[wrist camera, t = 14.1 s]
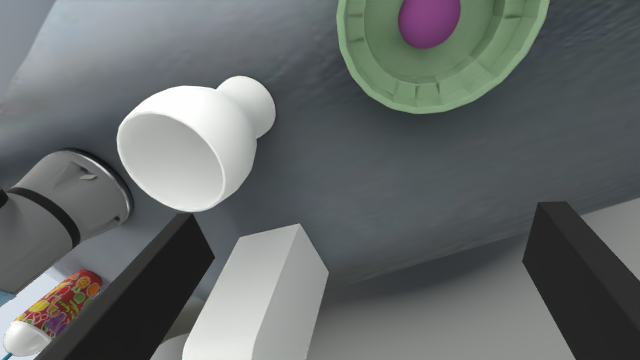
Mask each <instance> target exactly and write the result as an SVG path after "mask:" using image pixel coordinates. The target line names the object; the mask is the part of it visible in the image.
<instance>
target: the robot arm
mask: <svg viewBox="0 0 640 360" xmlns="http://www.w3.org/2000/svg"><path fill="white" fill-rule="evenodd" d="M133 208H134V204H133V199H132V196H131V193H130V191H129V189H128V187H127V186H126V184H125V183H124V181H123V180H122V179H121V178H120V177H119V175H118V174H117V173H116V172H115V171H114V170H113V169H111V168H110V167H109V166H108V165H107V164H105V163H104V162H102V161H101V160H99V159H98V158H96V157H94V156H92V155H90V154H88V153H86V152H83V151H80V150H76V149H69V148H65V149H60V150H57V151H55V152H53V153H51V154H49V155H47V156H46V157H44V158H43V159H41V160H40V161H39V162H38V163H37V164H36V165H35V166H34V167H33V168H32V169H31V170H30V171H29V172H28V173H27V174H26V175H25V176H24V177H23V178H22V179H21V180H20V181H19V182H18V183H17V184H16V185H15V186H13V187H11V188H10V189H7V190H6V191H3V190H2V188H1V187H0V307H1V306H2V305H4V304H5V303H7V302H8V301H9V300H12V299H13V298H15V297H16V295H17V294H18V293H19V292H20V291H22V290H23V289H24V288H25V287H26V286H28V285H29V284H30V283H32V282H33V281H34V280H35V279H36V278H38V277H39V276H40V275H41V274H43V273H44V272H45V271H46V270H48V269H49V268H50V267H51V266H52V265H54V264H55V263H56V262H57V261H59V260H60V259H61V258H62V257H64V256H65V255H66V254H67V253H68V252H70V251H71V250H72V249H73V248H75V247H76V246H77V245H78V244H80V243H81V242H83V241H85V240H87V239H89V238H92V237H94V236H96V235H99V234H101V233H103V232H106V231H108V230H110V229H113V228H115V227H117V226H119V225H120V224H122V223H123V222H124V221H126V220H127V219H128V218H129V217H130V216H131V215H132V213H133ZM214 259H215V256H214V254H213V252H212V250H211V248H210V247H209V245H208V243H207V241H206V239H205V237H204V235H203V233H202V231H201V229H200V227H199V225H198V223H197V221H196V219H195V217H194V215H193V213H180V214H177V215H176V216H175V217H174V218H173V219H172V220H171V221H170V222H169V223H168V224H167V225H166V226H165V227H164V228H163V230H162V231H161V232H160V233H159V234H158V235H157V236H156V237H155V238H154V239H153V240H152V241H151V242H150V243H149V244H148V245H147V246H146V248H145V249H144V250H143V251H142V252H141V253H140V254H139V255H138V256H137V257H136V258H135V259H134V260H133V261H132V262H131V263H130V264H129V265H128V267H127V268H126V269H125V270H124V271H123V272H122V273H121V274H120V275H119V276H118V277H117V278H116V279H115V280H114V281H113V282H112V283H111V284H110V286H109V287H108V288H107V289H105V290H104V291H103V292H101V293H100V294H99V295H97V296H96V297H95V298H93V299H92V300H91V301H90V302H89V303H88V304H87V305H86V306H85V307H84V308H83V309H82V310H81V311H80V312H79V313H78V314H77V317H76V318H73V319H72V320H71V321H70V322H69V323H68V324H67V325H66V326H65V329H64V330H62V331H61V332H60V333H59V334H58V335H57V336H56V337H55V338H54V339H53V340H52V341H51V342H50V343H49V344H48V345H47V346H46V347H45V348H44V349H43V350H42V352H41V353H40V354H39V355H38V356H37V357H36V358H35V359H34V360H150V359H151V357H152V355H153V354H154V352H155V351H156V349H157V348H158V346H159V345H160V343H161V341H162V340H163V338H164V337H165V335H166V334H167V332H168V330H169V329H170V327H171V326H172V324H173V323H174V321H175V320H176V318H177V316H178V315H179V313H180V312H181V310H182V309H183V307H184V305H185V304H186V302H187V301H188V299H189V298H190V296H191V294H192V293H193V291H194V290H195V288H196V287H197V285H198V284H199V282H200V280H201V279H202V277H203V276H204V274H205V273H206V271H207V269H208V268H209V266H210V265H211V263H212V262H213V260H214ZM522 262H523V264H524V265H525V267H526V269H527V271H528V273H529V275H530V276H531V278H532V280H533V282H534V284H535V286H536V288H537V289H538V291H539V293H540V295H541V297H542V299H543V300H544V302H545V304H546V306H547V308H548V310H549V311H550V313H551V315H552V317H553V319H554V321H555V322H556V324H557V326H558V328H559V330H560V332H561V333H562V335H563V337H564V339H565V341H566V343H567V344H568V346H569V348H570V350H571V352H572V353H573V355H574V357H575V359H576V360H640V281H639V280H638V279H637V278H636V277H635V276H634V274H633V273H632V272H631V271H629V269H628V268H627V267H626V266H625V265H624V264H623V263H622V261H621V260H620V259H619V258H618V257H617V256H616V255H615V254H614V253H613V252H612V251H611V250H610V249H609V248H608V246H607V245H606V244H605V243H604V242H603V241H602V240H601V239H600V238H599V237H598V236H597V235H596V233H595V232H594V231H593V230H592V229H591V228H590V227H589V226H588V225H587V224H586V223H585V222H584V220H583V219H582V218H581V217H580V216H579V215H578V214H577V213H576V212H575V211H574V210H573V209H572V208H571V206H570V205H569V204H568V203H567V202H538V205H537V209H536V212H535V216H534V220H533V223H532V227H531V231H530V235H529V239H528V242H527V246H526V250H525V253H524V257H523V260H522Z"/></svg>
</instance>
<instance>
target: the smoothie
mask: <svg viewBox="0 0 640 360" xmlns="http://www.w3.org/2000/svg"><path fill="white" fill-rule="evenodd" d="M101 285H102V281H101V279H100V278H99V277H98V276H97V275H95V274H94V273H92V272H90V271H87V270H80V271H79V272H77V273H73V274H72V275H71V276H69V277H68V278H67V279H66V280H64V281H63V282H62V283H60V284H59V285H58V286H57V287H55V288H54V289H53V290H52V291H51V292H49V293H48V294H47V295H45V296H44V297H43V298H42V299H41V300H39V301H38V302H37V303H35V304H34V305H33V306H31V307H30V308H29V309H28V310H26V311H25V312H24V313H23V314H21V315H20V316H19V317H18V318H16V319H15V320H14V321H12V322H11V323H10V324H9V328H8V330H7V331H6V333H5V335H4V338H3V345H4V348H5V350H6V351H7V352H8V353H9V354H8V355H6V356H5V357H4V358H3V359H2V360H8V359H9V358H10V357H11V356H12V355H13V356H29V355H33V354H35V353H38V352H40V351H41V350H43V349H44V348H45V347H46V346H47V345H48V344H49V343H50V342H51V341H52V340H53V339H54V338H55V337H56V336H57V335H58V334H59V333H60V332H61V331H62V330H64V329H65V326H66V325H67V324H68V323H69V322H70V321H71V320H72V319H73V318H76V317H77V314H78V313H79V312H80V311H81V310H82V309H83V308H84V307H85V306H86V305H87V304H88V303H89V302H90V301H91V300H92V298H93V297H94V296H95V295H96V294H97V293H98V292H99V291H100V287H101Z"/></svg>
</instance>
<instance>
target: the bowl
mask: <svg viewBox="0 0 640 360" xmlns="http://www.w3.org/2000/svg"><path fill="white" fill-rule="evenodd" d="M403 1H404V0H339V3H338V9H337V15H336V17H337V18H336V20H337V29H338V38H339V47H340V51H341V53H342V56H343V58H344V60H345V63H346V65H347V67H348V70H349V72H350V74H351V76H352V77H353V78H354V80H355V81H356V82H357V83H358V84H359V85H360V87H361V88H362V89H363V90H364V91H365V92H366V93H367V95H369V96H370V97H372V98H373V99H375V100H377V101H378V102H380V103H382V104H384V105H385V106H387V107H389V108H391V109H394V110H399V111H404V112H408V113H413V114H426V113H437V112H446V111H449V110H451V109H454V108H457V107H459V106H462V105H465V104H467V103H470V102H473V101H475V100H476V99H478V98H479V97H481V96H482V95H484V94H485V93H486V92H488V91H489V90H491V89H492V88H494V87H495V86H497V85H498V84H500V83H501V82H502V81H503V80H504V79H505V78H506V77H507V76H508V75H509V73H510V72H511V71H512V70H513V69H514V68H515V67H516V66H517V64H518V63H519V62H520V61H521V60H522V59H523V58H524V57H525V56H526V54H527V53H528V51H529V49H530V47H531V45H532V44H533V42H534V40H535V38H536V36H537V34H538V32H539V30H540V28H541V27H542V25H543V23H544V21H545V18H546V14H547V10H548V5H549V1H550V0H460V4H461V13H460V18H459V22H458V24H457V26H456V28H455V30H454V31H453V33H452V34H451V35H450V37H449V38H448V39H447V40H445V41H444V42H443V43H441V44H439V45H437V46H435V47H432V48H428V49H419V48H415V47H413V46H411V45H409V44H408V43H407V42H406V41H405V40H404V39H403V37H402V35H401V33H400V31H399V27H398V16H399V11H400V8H401V5H402V3H403Z"/></svg>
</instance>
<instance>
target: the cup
mask: <svg viewBox="0 0 640 360" xmlns="http://www.w3.org/2000/svg"><path fill="white" fill-rule="evenodd" d="M275 116H276V115H275V105H274V102H273V99H272V97H271V95H270V93H269V92H268V91H267V90H266V88H265V87H264V86H263V85H262V84H260V83H259V82H257V81H256V80H254V79H252V78H249V77H245V76H236V77H231V78H229V79H228V80H226V81H224V82H223V83H222V84H221V85H220V86H219V87H218V88H217V89H216V90H215V89H212V88H206V87H198V86H180V87H174V88H169V89H167V90H164V91H162V92H159V93H157V94H154V95H153V96H151V97H149V98H148V99H146V100H144V101H143V102H142V103H141V104H140V105H138V106H137V107H136V108H135V109H134V110H133V111H132V112H131V113H130V114H129V115H128V116H127V117H126V118H125V119H124V121H123V122H122V123H121V125H120V126H119V130H118V134H117V148H118V153H119V156H120V158H121V161H122V164H123V166H124V167H125V169H126V170H127V172H128V174H129V175H130V177H131V178H132V179H133V180H134V181H135V182H136V184H137V185H138V186H139V187H140V188H141V189H142V190H144V191H145V192H146V193H147V194H148V195H150V196H151V197H152V198H154V199H156V200H157V201H159V202H161V203H162V204H164V205H167V206H169V207H172V208H174V209H177V210H182V211H187V212H197V211H204V210H207V209H210V208H212V207H214V206H215V205H217V204H218V203H220V202H221V201H223V200H224V199H226V198H227V197H229V196H230V195H231V194H233V193H234V192H235V191H236V190H238V188H239V187H240V186H241V184H242V183H243V182H244V180H245V179H246V178H247V176H248V174H249V173H250V171H251V170H252V166H253V161H254V157H255V153H256V148H257V140H256V139H257V138H259V137H261V136H262V135H264V134H265V133H266V132H267V131H268V130H270V128H271V127H272V125H273V123H274V120H275Z"/></svg>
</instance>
